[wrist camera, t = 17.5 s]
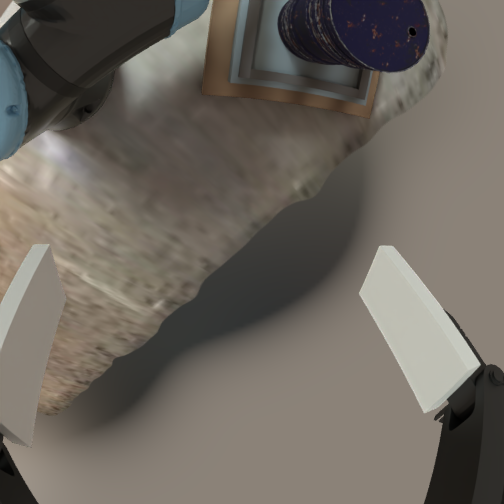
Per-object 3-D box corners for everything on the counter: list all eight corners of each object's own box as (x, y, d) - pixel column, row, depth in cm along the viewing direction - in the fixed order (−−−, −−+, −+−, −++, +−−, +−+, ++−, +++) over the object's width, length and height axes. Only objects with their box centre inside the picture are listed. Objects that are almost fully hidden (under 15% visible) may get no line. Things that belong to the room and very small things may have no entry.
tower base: (201, 91, 37) (202, 98, 31) (221, -47, 25) (227, -66, 18) (356, 113, 42) (383, 125, 36) (378, -8, 30) (407, -13, 24)
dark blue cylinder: (268, 53, 30) (316, 52, 18) (283, -17, 24) (338, -53, 12) (344, 72, 32) (419, 90, 20) (358, 7, 27) (437, -2, 15)
